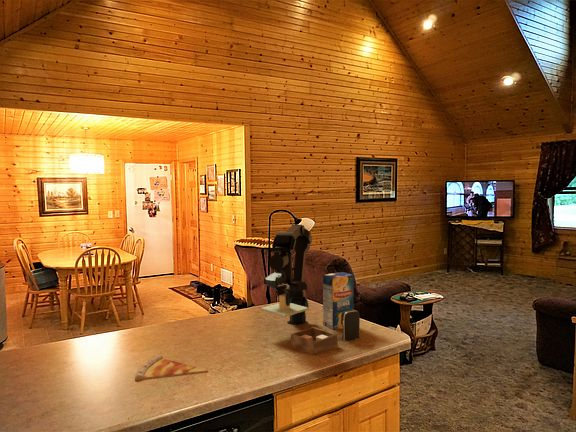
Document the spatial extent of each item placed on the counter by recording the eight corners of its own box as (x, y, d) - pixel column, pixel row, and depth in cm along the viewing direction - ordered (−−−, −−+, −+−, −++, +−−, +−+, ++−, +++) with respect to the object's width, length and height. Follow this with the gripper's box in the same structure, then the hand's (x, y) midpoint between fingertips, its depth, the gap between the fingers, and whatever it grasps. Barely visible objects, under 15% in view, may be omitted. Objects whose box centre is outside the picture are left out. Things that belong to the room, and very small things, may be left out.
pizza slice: (173, 393, 126) (173, 386, 126) (120, 377, 137) (120, 370, 137) (208, 372, 140) (208, 366, 140) (157, 359, 151) (157, 353, 151)
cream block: (315, 346, 160) (315, 336, 160) (322, 343, 162) (322, 334, 162) (323, 348, 158) (323, 339, 157) (329, 346, 160) (329, 336, 160)
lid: (261, 309, 170) (261, 295, 170) (284, 303, 179) (284, 289, 179) (284, 317, 161) (284, 301, 161) (308, 309, 170) (308, 295, 170)
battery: (354, 336, 172) (354, 308, 171) (359, 339, 168) (360, 310, 168) (339, 339, 169) (339, 310, 168) (345, 342, 165) (345, 313, 164)
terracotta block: (298, 346, 160) (298, 336, 160) (305, 343, 163) (305, 334, 162) (305, 348, 158) (305, 339, 157) (312, 346, 160) (312, 336, 160)
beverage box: (322, 326, 184) (322, 274, 182) (343, 322, 190) (343, 271, 188) (332, 331, 178) (332, 277, 177) (353, 326, 184) (353, 274, 182)
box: (290, 347, 160) (290, 334, 160) (312, 339, 169) (313, 326, 168) (315, 357, 152) (315, 342, 151) (337, 347, 160) (337, 334, 160)
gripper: (253, 264, 170) (253, 304, 171) (287, 271, 157) (287, 314, 158) (273, 261, 178) (274, 298, 179) (308, 267, 165) (308, 308, 166)
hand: (284, 304), depth 170 cm, fingers closed on lid, 3 cm apart
